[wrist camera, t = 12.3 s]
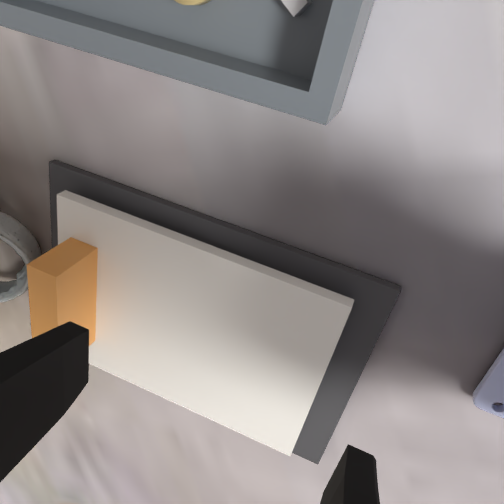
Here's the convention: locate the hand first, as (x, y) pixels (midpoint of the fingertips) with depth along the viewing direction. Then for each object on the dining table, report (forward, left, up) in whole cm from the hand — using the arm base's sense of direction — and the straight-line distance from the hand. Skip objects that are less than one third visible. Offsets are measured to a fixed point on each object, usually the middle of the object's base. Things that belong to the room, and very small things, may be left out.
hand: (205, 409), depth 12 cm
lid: (+4, +6, -8) cm, 11 cm away
